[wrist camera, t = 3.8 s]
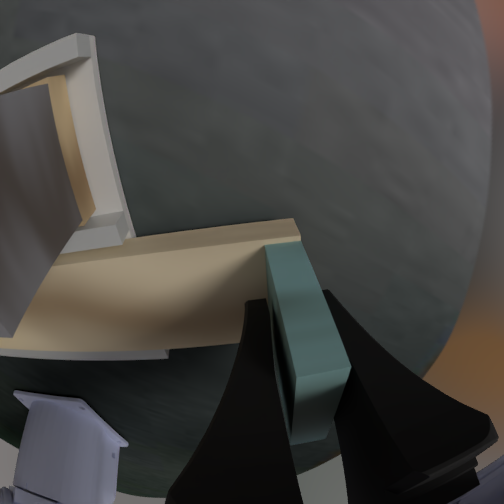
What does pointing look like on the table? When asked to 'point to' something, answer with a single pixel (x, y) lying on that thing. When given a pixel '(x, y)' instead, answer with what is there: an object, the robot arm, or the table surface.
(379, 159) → the table surface
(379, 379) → the robot arm
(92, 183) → the lane board
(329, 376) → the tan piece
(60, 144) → the gray handled wooden slider
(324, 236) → the table surface
